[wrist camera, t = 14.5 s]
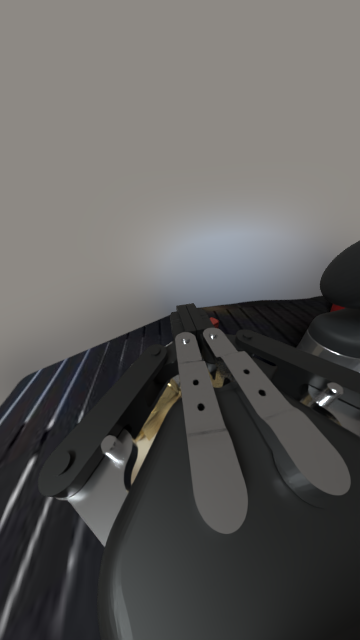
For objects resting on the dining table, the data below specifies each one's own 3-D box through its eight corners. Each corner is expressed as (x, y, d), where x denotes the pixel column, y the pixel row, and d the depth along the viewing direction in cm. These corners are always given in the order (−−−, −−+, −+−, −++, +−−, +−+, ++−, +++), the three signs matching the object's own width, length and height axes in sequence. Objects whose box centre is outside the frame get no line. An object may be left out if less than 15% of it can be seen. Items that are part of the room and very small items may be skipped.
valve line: (187, 362, 43) (185, 329, 36) (206, 376, 39) (209, 342, 31) (76, 463, 26) (30, 441, 19) (90, 507, 22) (37, 501, 15)
